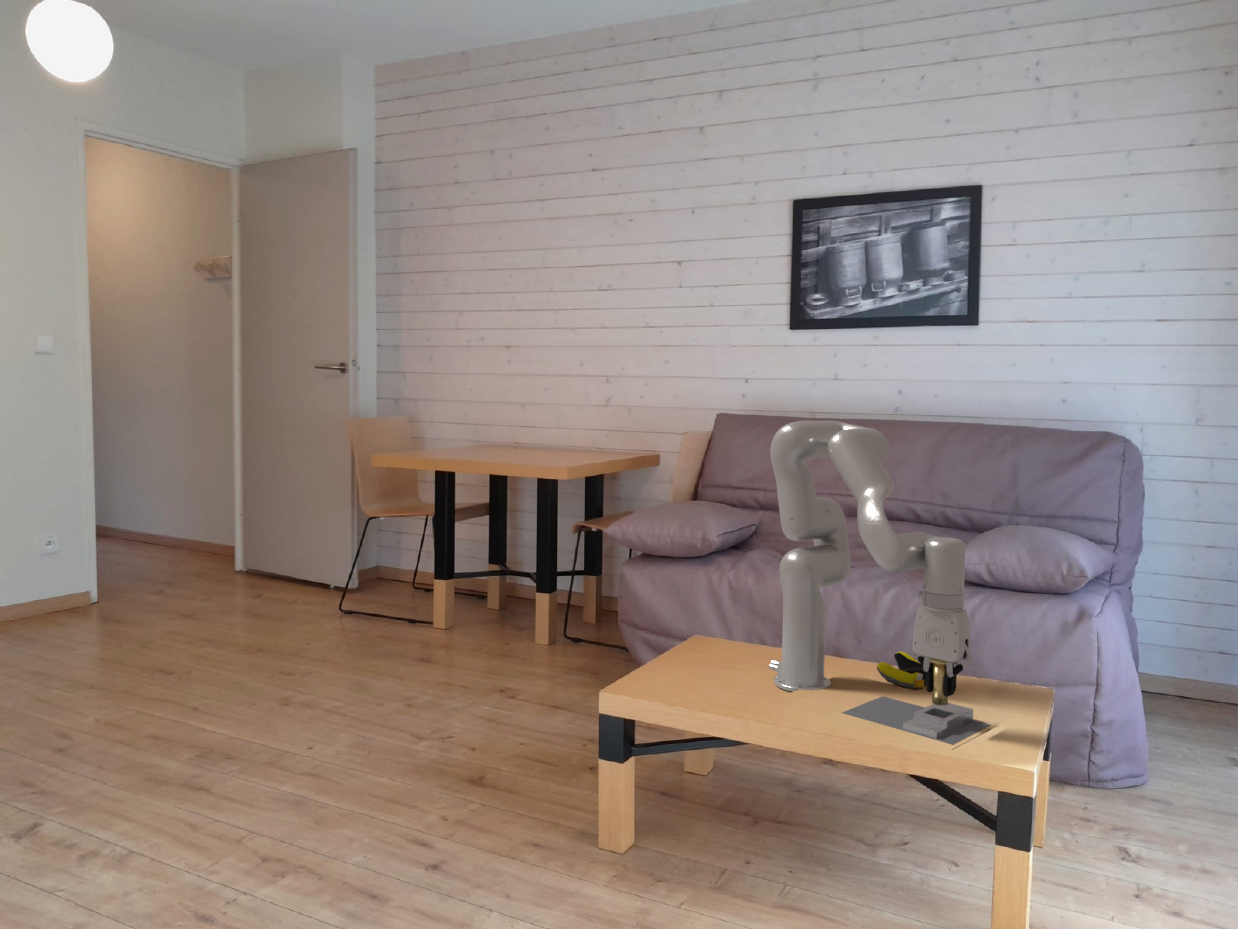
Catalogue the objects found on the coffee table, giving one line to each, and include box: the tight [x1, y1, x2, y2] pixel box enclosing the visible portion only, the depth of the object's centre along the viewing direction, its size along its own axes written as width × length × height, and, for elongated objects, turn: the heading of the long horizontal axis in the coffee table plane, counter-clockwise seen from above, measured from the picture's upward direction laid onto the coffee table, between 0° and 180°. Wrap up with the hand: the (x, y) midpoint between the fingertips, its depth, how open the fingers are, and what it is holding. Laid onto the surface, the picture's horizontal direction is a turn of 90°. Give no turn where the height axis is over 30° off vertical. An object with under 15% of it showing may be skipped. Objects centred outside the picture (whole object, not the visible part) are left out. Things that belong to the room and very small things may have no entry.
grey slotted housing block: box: [903, 702, 974, 739], centre depth 187 cm, size 7×15×2 cm, turn 134°
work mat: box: [841, 696, 991, 750], centre depth 191 cm, size 24×16×1 cm, turn 44°
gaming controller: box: [876, 650, 926, 690], centre depth 219 cm, size 15×6×10 cm
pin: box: [930, 658, 949, 705], centre depth 187 cm, size 4×4×9 cm
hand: (940, 692), depth 187 cm, fingers closed on pin, 3 cm apart
